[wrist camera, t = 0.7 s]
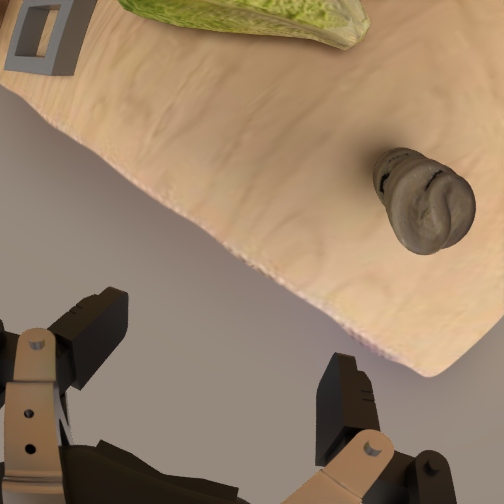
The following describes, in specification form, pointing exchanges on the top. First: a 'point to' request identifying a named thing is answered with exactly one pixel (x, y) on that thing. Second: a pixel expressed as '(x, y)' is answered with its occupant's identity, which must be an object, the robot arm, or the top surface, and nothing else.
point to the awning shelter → (3, 9)
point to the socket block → (61, 41)
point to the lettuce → (264, 17)
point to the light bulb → (423, 200)
